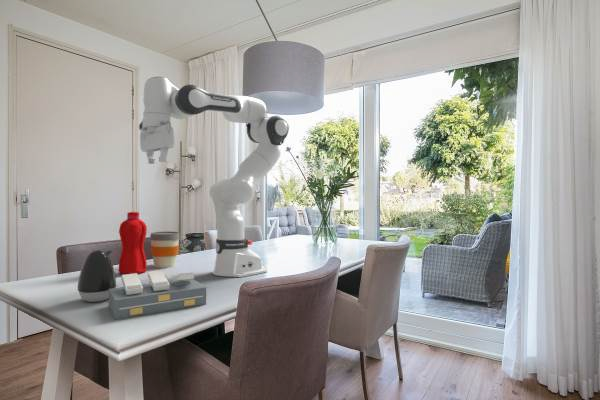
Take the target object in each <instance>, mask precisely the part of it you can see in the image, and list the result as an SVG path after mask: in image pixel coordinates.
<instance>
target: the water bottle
mask: <svg viewBox="0 0 600 400" xmlns="http://www.w3.org/2000/svg"><path fill="white" fill-rule="evenodd" d="M126 217H127V218H126V219H125V220H124V221H122V222H121V223H120V226H119V230H118V233H119V237H120V242H121V247H122V248H121V253H120V256H119V257H120V258H119V261H118V272H119V274H121V275H126V274H135V273H137V274H143V273H145V272H147V267H148V266H147V265H148V264H147V258H146V253H145V248H144V247H145V246H144V245H145V241H146V237H147V233H148V231H147V230H148V229H147V225H146V223H145V222H144V221H143V220H141V219H140V212H138V211H130V212H127V215H126Z"/></svg>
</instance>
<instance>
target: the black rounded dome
mask: <svg viewBox="0 0 600 400" xmlns="http://www.w3.org/2000/svg"><path fill="white" fill-rule="evenodd" d="M111 254H112V250H111V249H109V250H107V251H104V250H103V249H95V250H93V251H91V252H89V253H88V254H87V256H86V257H85V259H84V261H83V263H82V266H81V268H80V269H81V270H80V272H79V277H78V283H77V292H78V293H79V296H80V298H81V299H82V300H84V301H86V302H88V303H98V302H99V303H100V302H103V301H106V300H109V289H112V288H117V279H116V273H115V272H116V271H115V268H114V266H113V265H114V264H113V263H112V260H111V258H110V256H109V255H111Z"/></svg>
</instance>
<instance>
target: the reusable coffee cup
mask: <svg viewBox="0 0 600 400" xmlns="http://www.w3.org/2000/svg"><path fill="white" fill-rule="evenodd" d="M180 236H181V235H180V232H179V231H155V232H151V233H150V237H149V240H150V250H151V251H150V252H151V257H152V260H153V261H152V262H153V267H154V268H155V267H156V268H157V269H169V267H170V268H174V267H176V263H177V257H178V255H179V250H180V249H179V248H180V244H179V242H180V239H181V238H180Z"/></svg>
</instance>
